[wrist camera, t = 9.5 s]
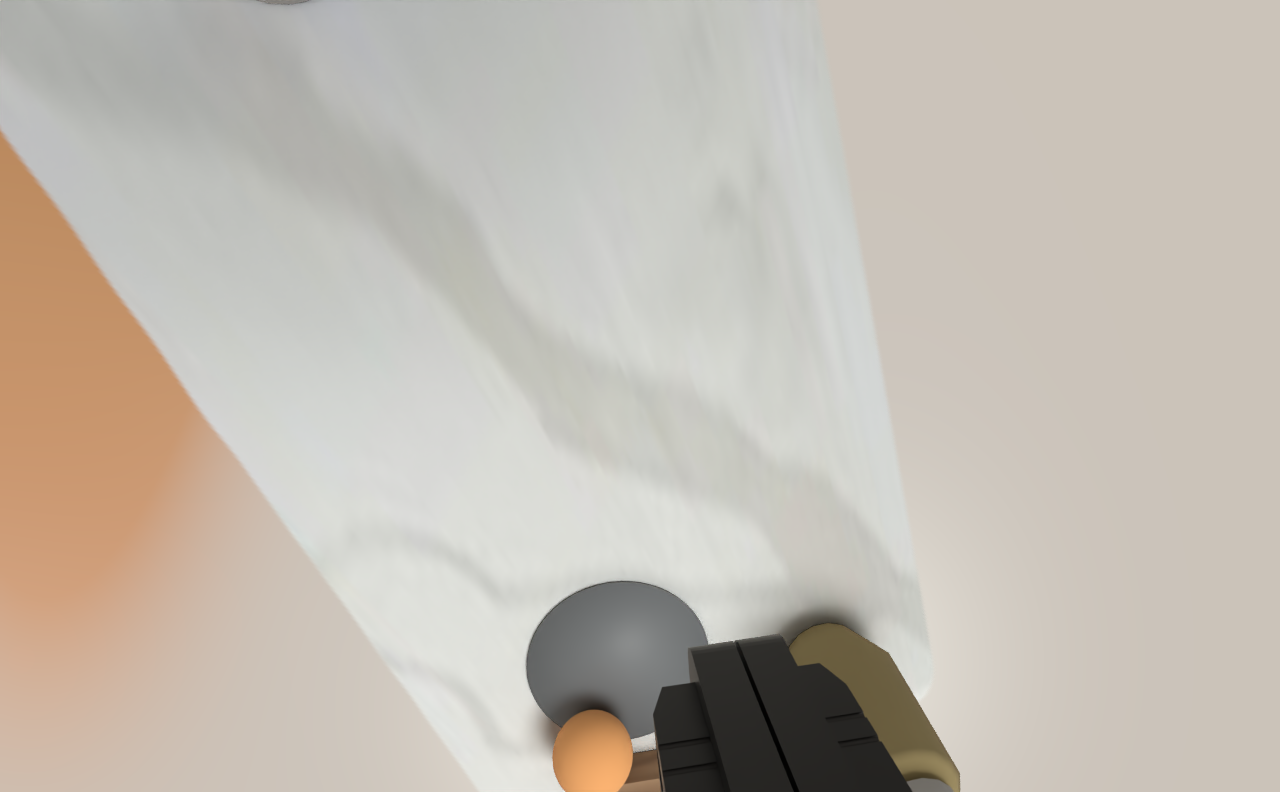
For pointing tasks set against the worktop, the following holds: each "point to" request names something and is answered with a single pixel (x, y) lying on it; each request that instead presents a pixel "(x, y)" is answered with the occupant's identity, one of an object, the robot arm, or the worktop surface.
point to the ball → (592, 753)
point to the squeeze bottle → (882, 703)
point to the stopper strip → (643, 773)
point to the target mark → (612, 653)
